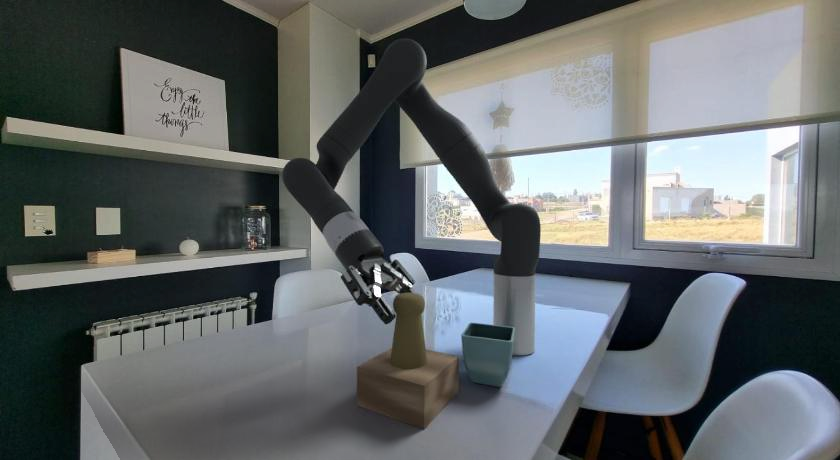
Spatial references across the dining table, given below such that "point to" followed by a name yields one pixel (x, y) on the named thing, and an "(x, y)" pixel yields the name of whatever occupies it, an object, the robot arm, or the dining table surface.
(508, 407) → the dining table surface
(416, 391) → the walnut block
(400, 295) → the cork
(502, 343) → the flower pot
